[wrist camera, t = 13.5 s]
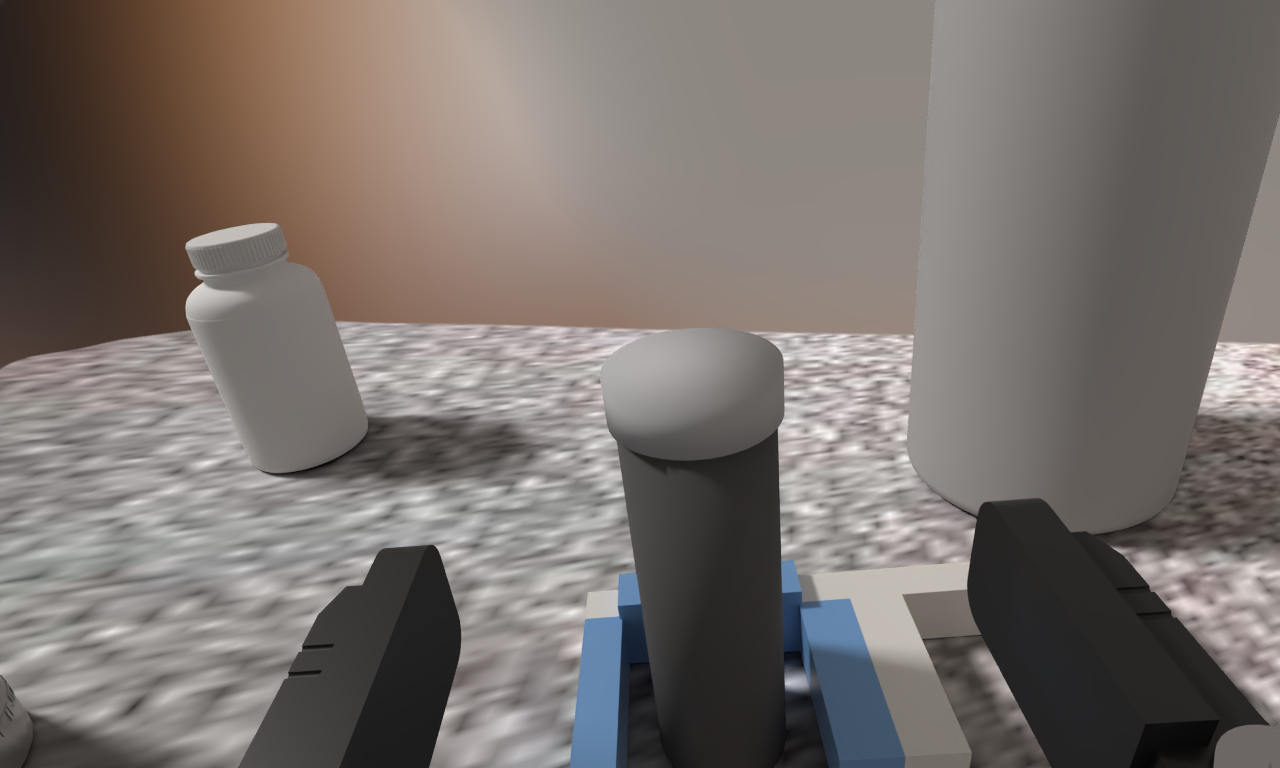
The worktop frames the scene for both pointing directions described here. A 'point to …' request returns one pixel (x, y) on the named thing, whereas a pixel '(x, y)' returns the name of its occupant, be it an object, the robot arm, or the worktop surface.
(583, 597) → the worktop surface
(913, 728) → the blue grey comb bracket
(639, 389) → the grey capped cylinder
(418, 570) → the robot arm
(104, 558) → the worktop surface
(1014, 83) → the cylinder vase
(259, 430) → the pill bottle
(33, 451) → the worktop surface
